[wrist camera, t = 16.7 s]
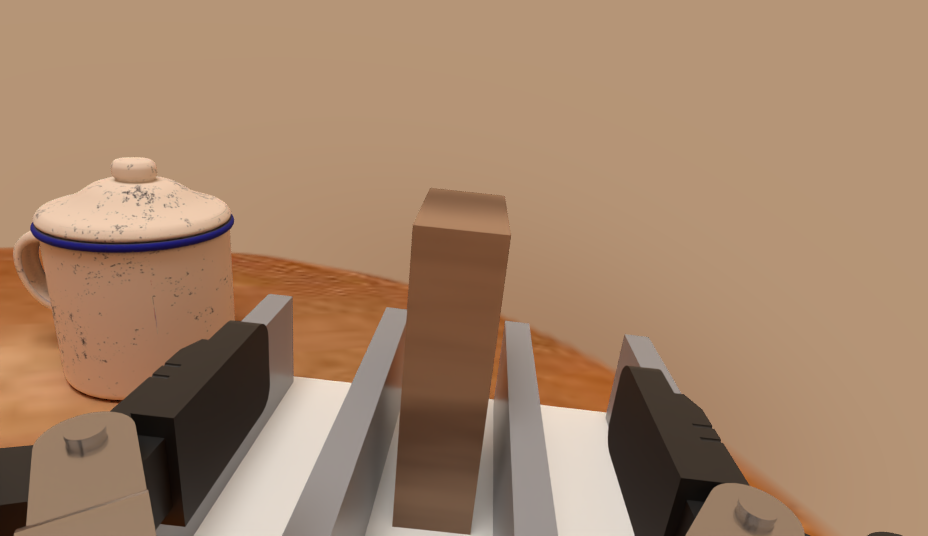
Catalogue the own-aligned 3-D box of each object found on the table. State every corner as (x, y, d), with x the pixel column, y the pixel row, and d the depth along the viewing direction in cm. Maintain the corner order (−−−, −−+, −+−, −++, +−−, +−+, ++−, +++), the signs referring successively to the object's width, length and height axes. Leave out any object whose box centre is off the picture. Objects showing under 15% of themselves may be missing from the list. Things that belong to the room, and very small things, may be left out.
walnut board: (470, 534, 20) (511, 235, 16) (392, 526, 20) (413, 224, 16) (473, 441, 26) (504, 195, 21) (410, 434, 26) (430, 187, 21)
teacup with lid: (267, 335, 35) (261, 157, 31) (183, 419, 27) (160, 188, 23) (95, 310, 36) (67, 134, 32) (-40, 383, 27) (-101, 155, 23)
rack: (771, 809, 14) (850, 656, 12) (34, 715, 15) (-11, 550, 12) (629, 430, 29) (653, 333, 27) (268, 388, 30) (265, 289, 27)
